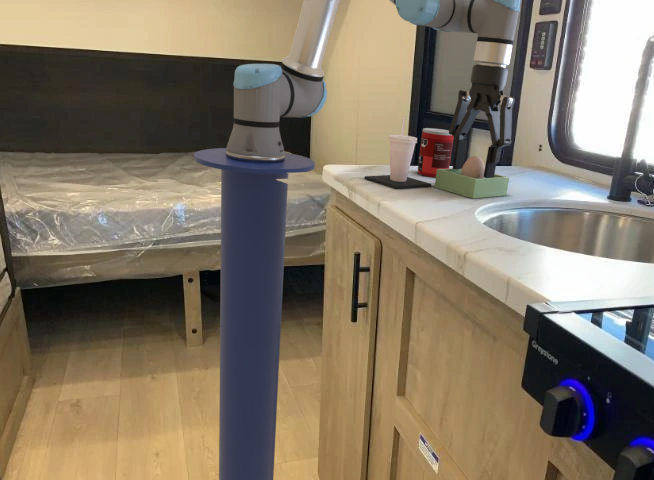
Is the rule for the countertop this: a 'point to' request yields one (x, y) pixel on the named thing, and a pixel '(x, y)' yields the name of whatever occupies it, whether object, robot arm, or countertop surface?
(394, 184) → the drinks pad
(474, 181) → the bin
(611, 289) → the countertop surface
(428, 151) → the canned food
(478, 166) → the egg
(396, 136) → the smoothie
